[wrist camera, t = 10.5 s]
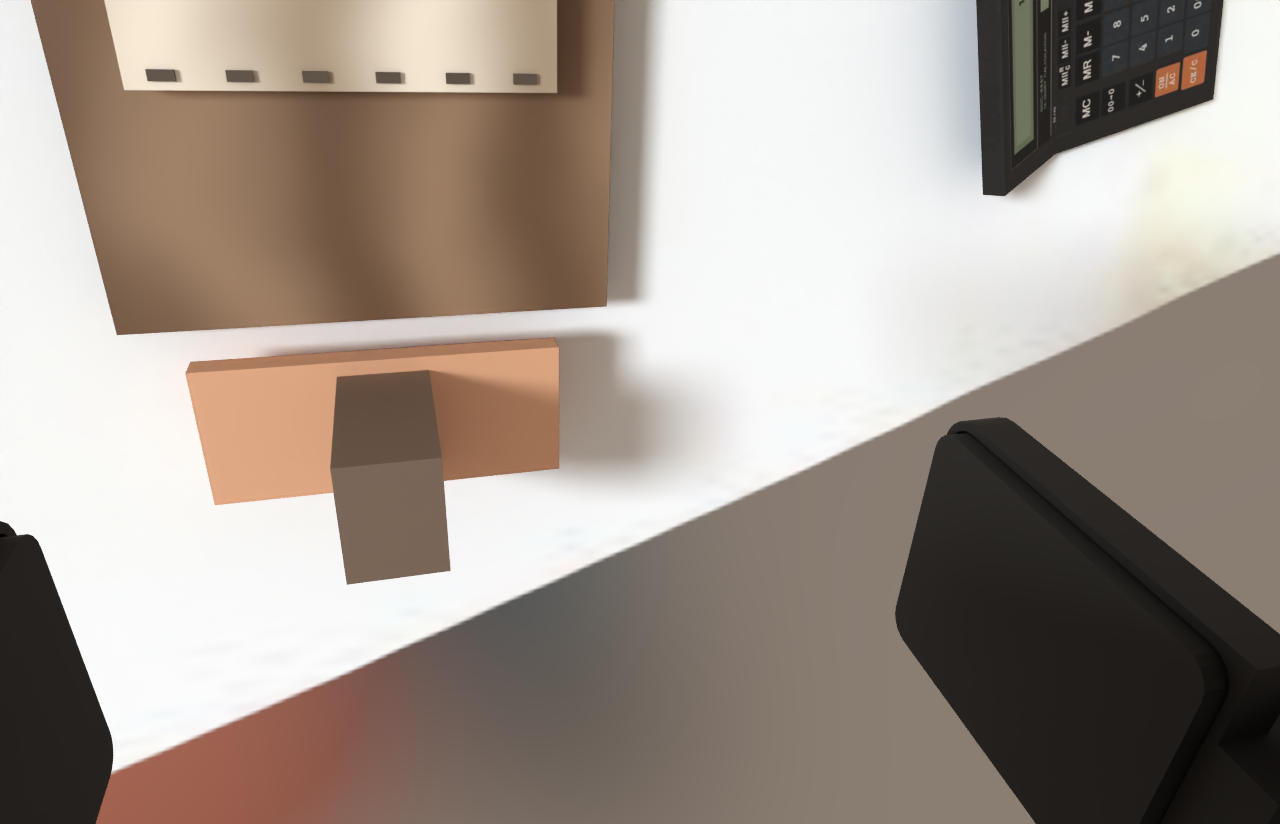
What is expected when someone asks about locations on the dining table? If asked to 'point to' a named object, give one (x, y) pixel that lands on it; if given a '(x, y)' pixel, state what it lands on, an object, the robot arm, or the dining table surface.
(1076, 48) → the calculator
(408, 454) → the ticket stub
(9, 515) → the dining table surface
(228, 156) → the board
